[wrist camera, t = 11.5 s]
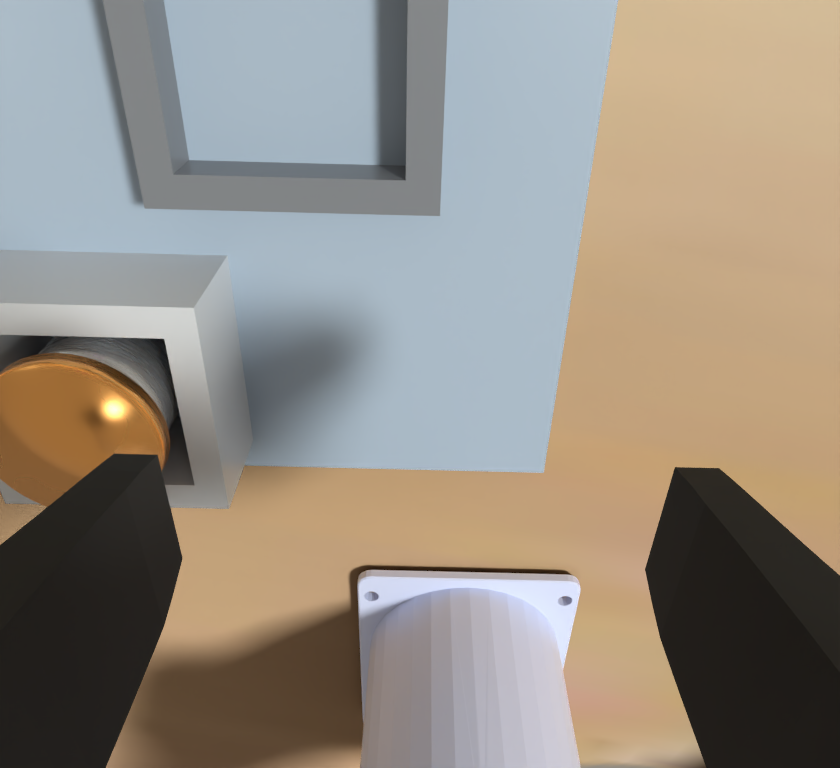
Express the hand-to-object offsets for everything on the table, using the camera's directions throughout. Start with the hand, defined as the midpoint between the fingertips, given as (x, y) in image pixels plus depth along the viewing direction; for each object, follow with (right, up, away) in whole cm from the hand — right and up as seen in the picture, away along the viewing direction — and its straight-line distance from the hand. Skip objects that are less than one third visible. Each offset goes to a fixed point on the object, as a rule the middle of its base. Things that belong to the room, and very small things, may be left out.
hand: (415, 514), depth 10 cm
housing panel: (-7, +6, +8) cm, 12 cm away
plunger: (-8, +2, +9) cm, 12 cm away
